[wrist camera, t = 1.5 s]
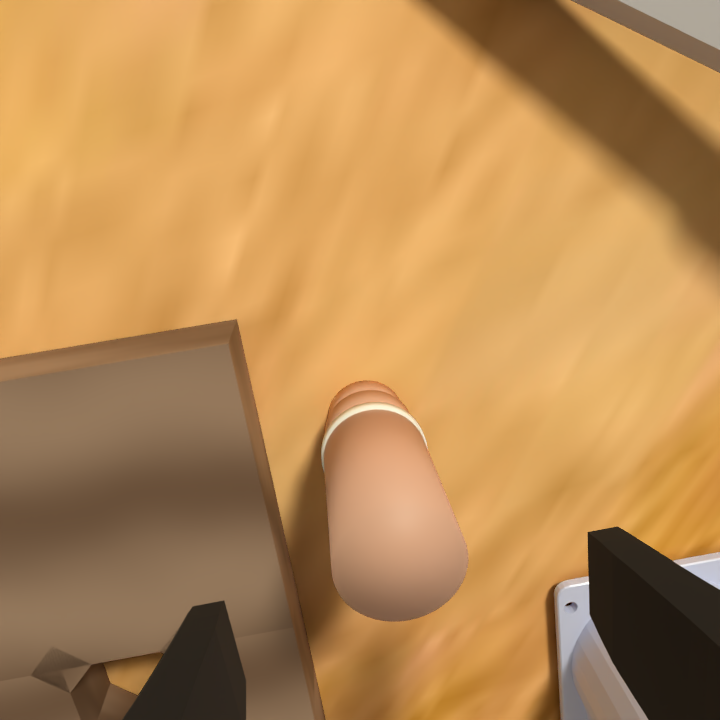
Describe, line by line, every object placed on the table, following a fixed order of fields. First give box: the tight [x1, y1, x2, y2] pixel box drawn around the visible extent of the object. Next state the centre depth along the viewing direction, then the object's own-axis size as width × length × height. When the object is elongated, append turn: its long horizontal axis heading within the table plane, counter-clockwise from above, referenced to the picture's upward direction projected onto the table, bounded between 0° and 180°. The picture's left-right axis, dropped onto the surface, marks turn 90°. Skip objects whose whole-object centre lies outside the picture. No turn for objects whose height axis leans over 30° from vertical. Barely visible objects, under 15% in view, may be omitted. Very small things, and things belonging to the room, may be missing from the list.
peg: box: [321, 381, 468, 621], centre depth 18 cm, size 3×3×8 cm
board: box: [0, 319, 326, 720], centre depth 22 cm, size 18×11×2 cm, turn 9°
